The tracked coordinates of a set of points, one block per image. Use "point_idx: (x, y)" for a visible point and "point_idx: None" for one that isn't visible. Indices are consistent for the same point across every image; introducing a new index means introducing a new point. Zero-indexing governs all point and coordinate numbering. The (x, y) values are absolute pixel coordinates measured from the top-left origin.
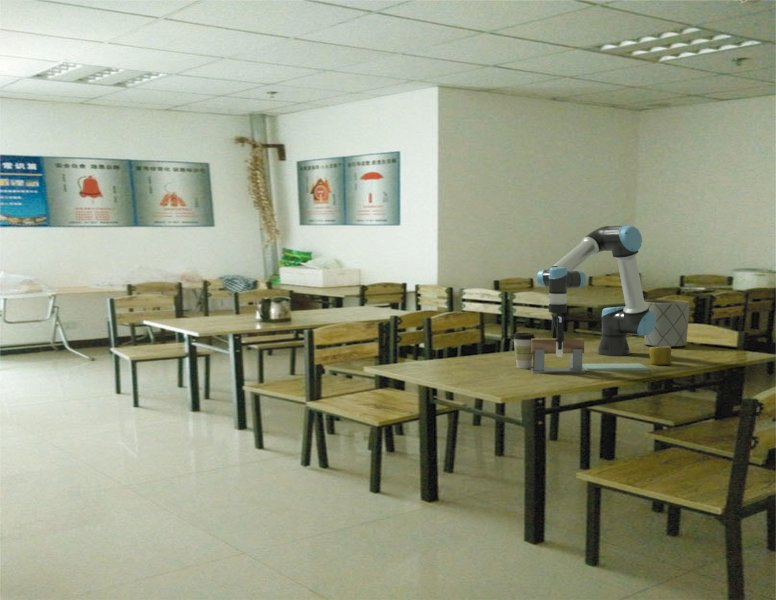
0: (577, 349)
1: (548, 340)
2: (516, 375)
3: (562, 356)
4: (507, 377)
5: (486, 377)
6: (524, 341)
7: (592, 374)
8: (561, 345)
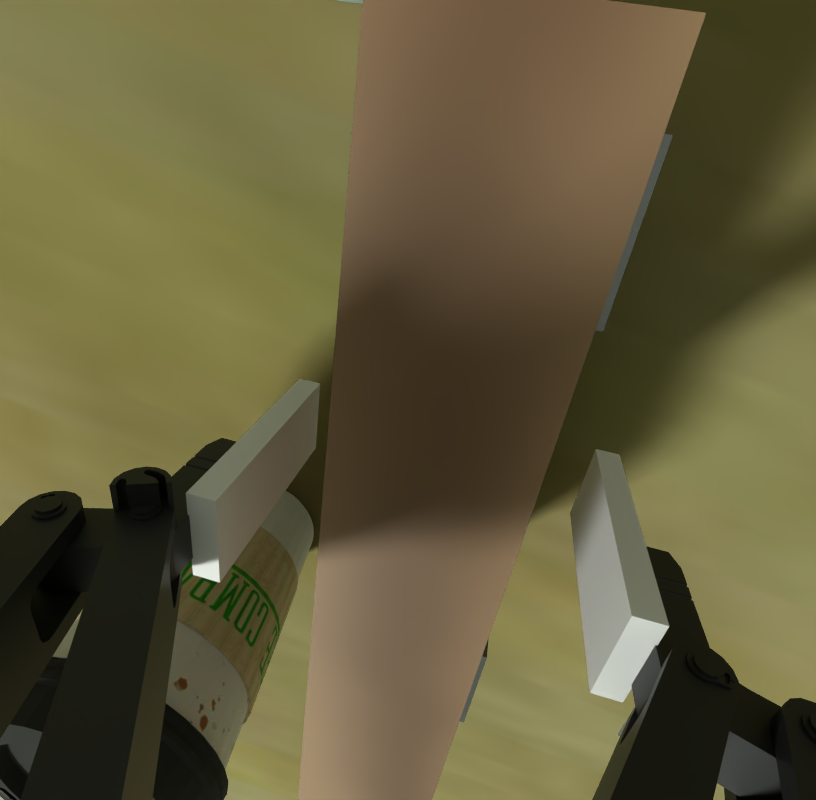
0: (631, 242)
1: (454, 729)
2: (554, 668)
3: (619, 462)
4: (603, 727)
5: (562, 791)
6: (227, 760)
7: (787, 48)
8: (690, 611)
